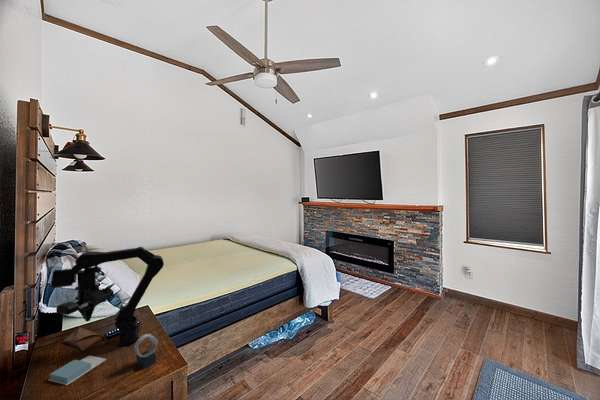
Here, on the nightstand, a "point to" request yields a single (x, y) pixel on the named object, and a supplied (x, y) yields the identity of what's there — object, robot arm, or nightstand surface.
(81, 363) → the teal tile
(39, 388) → the nightstand surface
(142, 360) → the watch
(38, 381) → the nightstand surface
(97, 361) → the felt mat
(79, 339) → the sunglasses case
